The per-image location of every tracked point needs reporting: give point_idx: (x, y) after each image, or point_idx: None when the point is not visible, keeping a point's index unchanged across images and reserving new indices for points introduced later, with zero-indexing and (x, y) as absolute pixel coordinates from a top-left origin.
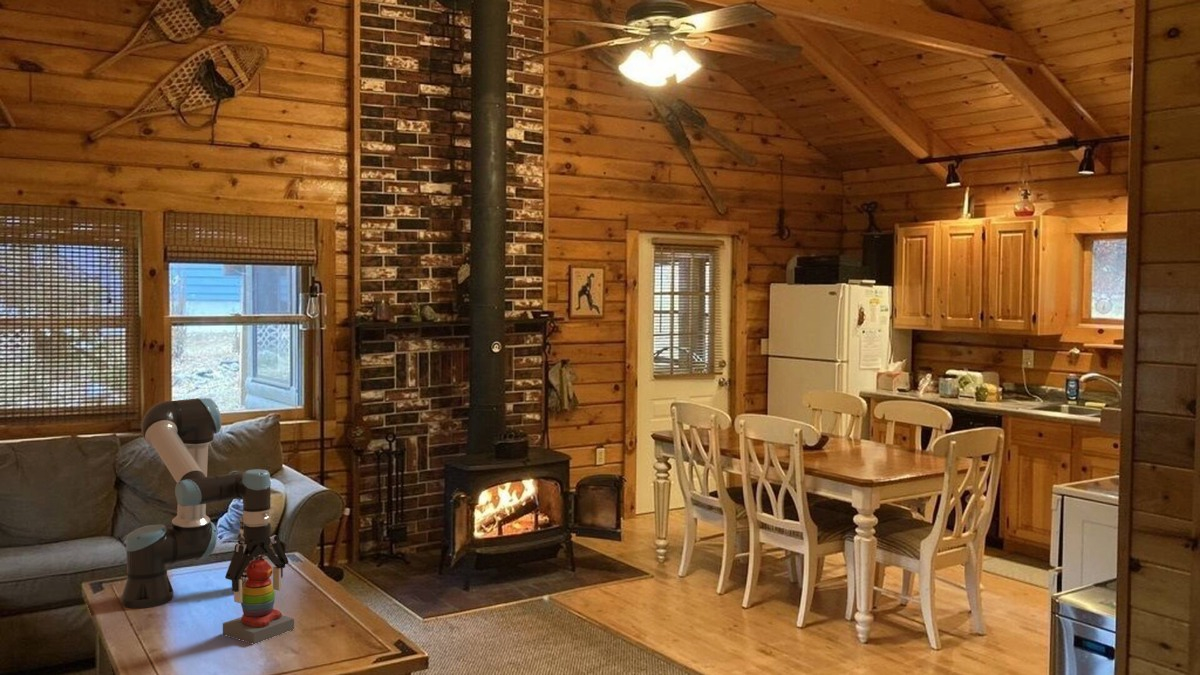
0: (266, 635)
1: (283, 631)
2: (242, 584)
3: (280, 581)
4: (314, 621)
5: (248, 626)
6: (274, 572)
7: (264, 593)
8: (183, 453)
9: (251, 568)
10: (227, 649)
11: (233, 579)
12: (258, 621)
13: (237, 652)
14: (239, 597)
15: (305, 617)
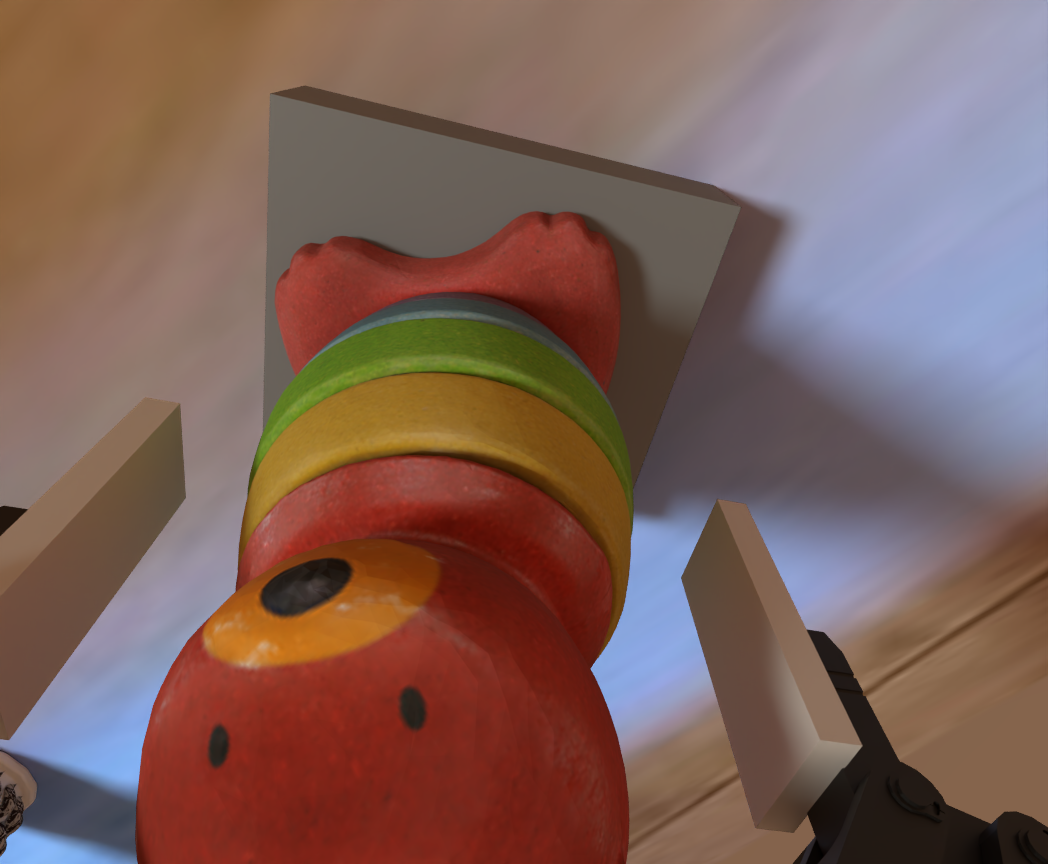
0: (599, 163)
1: (419, 117)
2: (8, 821)
3: (90, 465)
4: (36, 49)
5: None
6: (54, 643)
7: (522, 395)
8: None
9: None
10: (840, 306)
11: (1000, 816)
12: (604, 284)
13: (892, 194)
14: (761, 556)
15: (33, 205)
